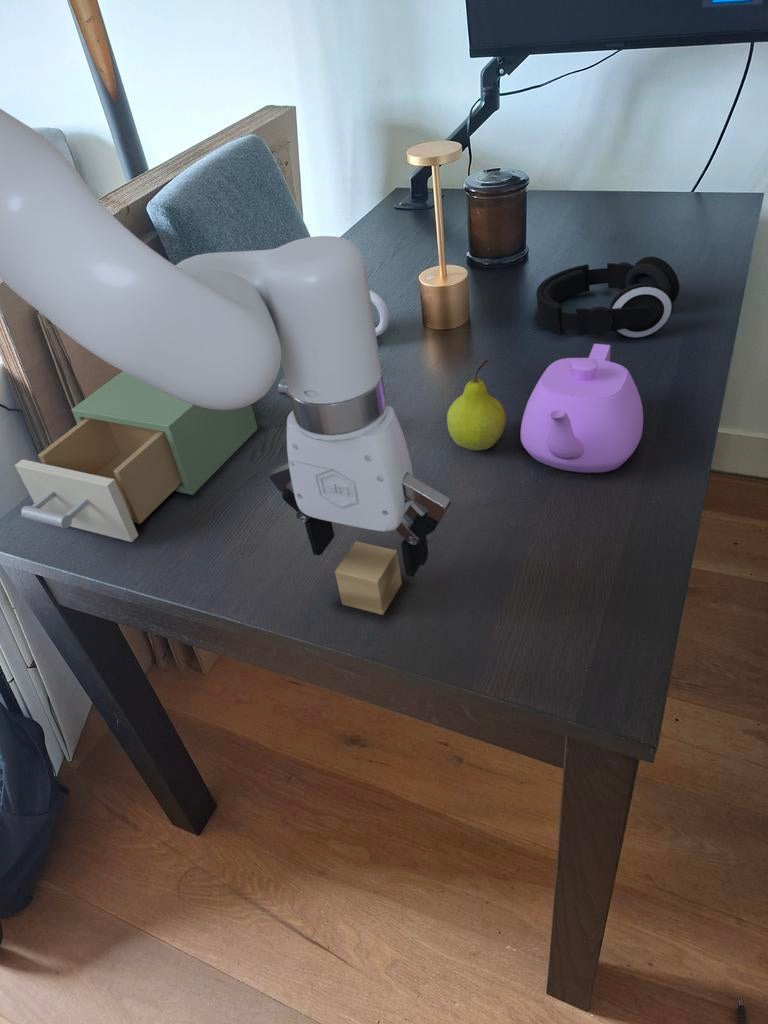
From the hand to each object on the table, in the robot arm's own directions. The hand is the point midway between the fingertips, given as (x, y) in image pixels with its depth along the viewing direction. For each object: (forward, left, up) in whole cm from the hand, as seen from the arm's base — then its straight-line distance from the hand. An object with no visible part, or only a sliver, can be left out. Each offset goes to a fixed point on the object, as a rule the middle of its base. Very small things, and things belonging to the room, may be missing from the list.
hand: (368, 555), depth 71 cm
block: (0, 0, -5) cm, 5 cm away
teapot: (+30, +11, -5) cm, 32 cm away
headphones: (+51, +39, -5) cm, 64 cm away
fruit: (+20, +18, -5) cm, 27 cm away
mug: (+16, +52, -5) cm, 55 cm away
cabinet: (-14, +36, -5) cm, 39 cm away
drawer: (-24, +27, -4) cm, 36 cm away
